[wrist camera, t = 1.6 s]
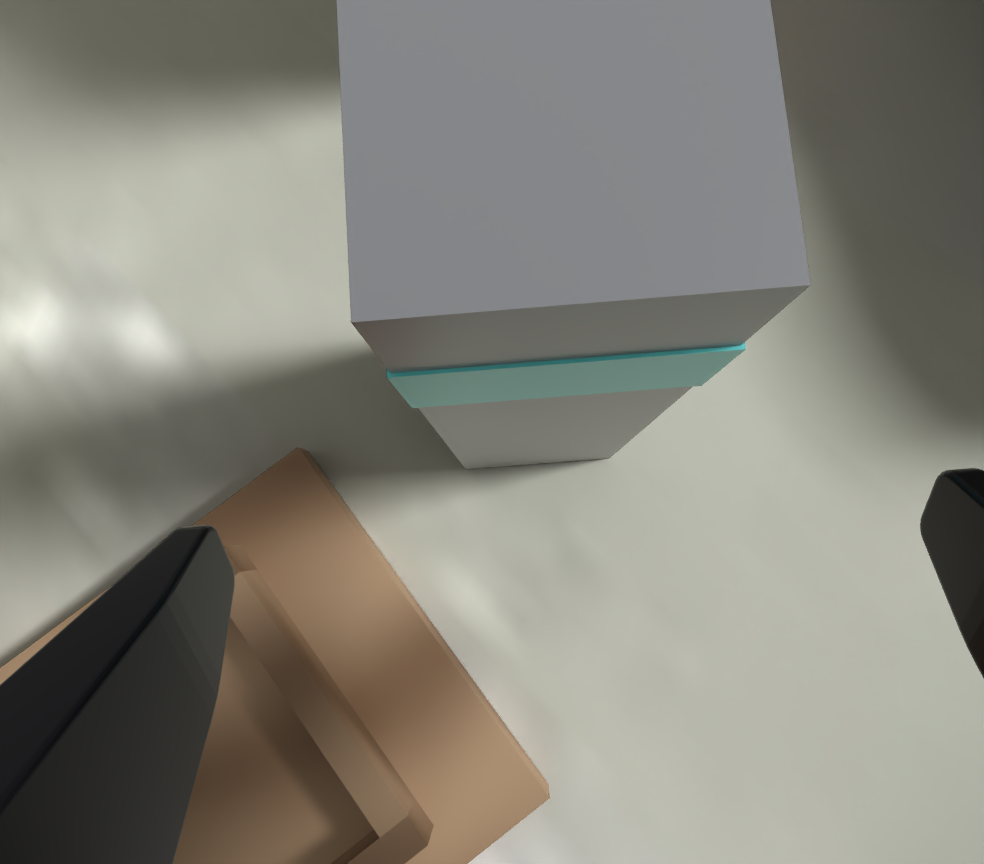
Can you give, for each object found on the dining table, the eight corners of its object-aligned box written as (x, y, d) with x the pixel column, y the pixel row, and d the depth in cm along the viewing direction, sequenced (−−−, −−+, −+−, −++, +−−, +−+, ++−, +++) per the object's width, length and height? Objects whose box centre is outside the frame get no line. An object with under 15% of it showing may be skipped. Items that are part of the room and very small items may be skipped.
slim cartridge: (611, 460, 20) (817, 289, 6) (464, 471, 20) (345, 328, 6) (597, 317, 21) (756, -127, 7) (454, 328, 21) (327, -86, 7)
